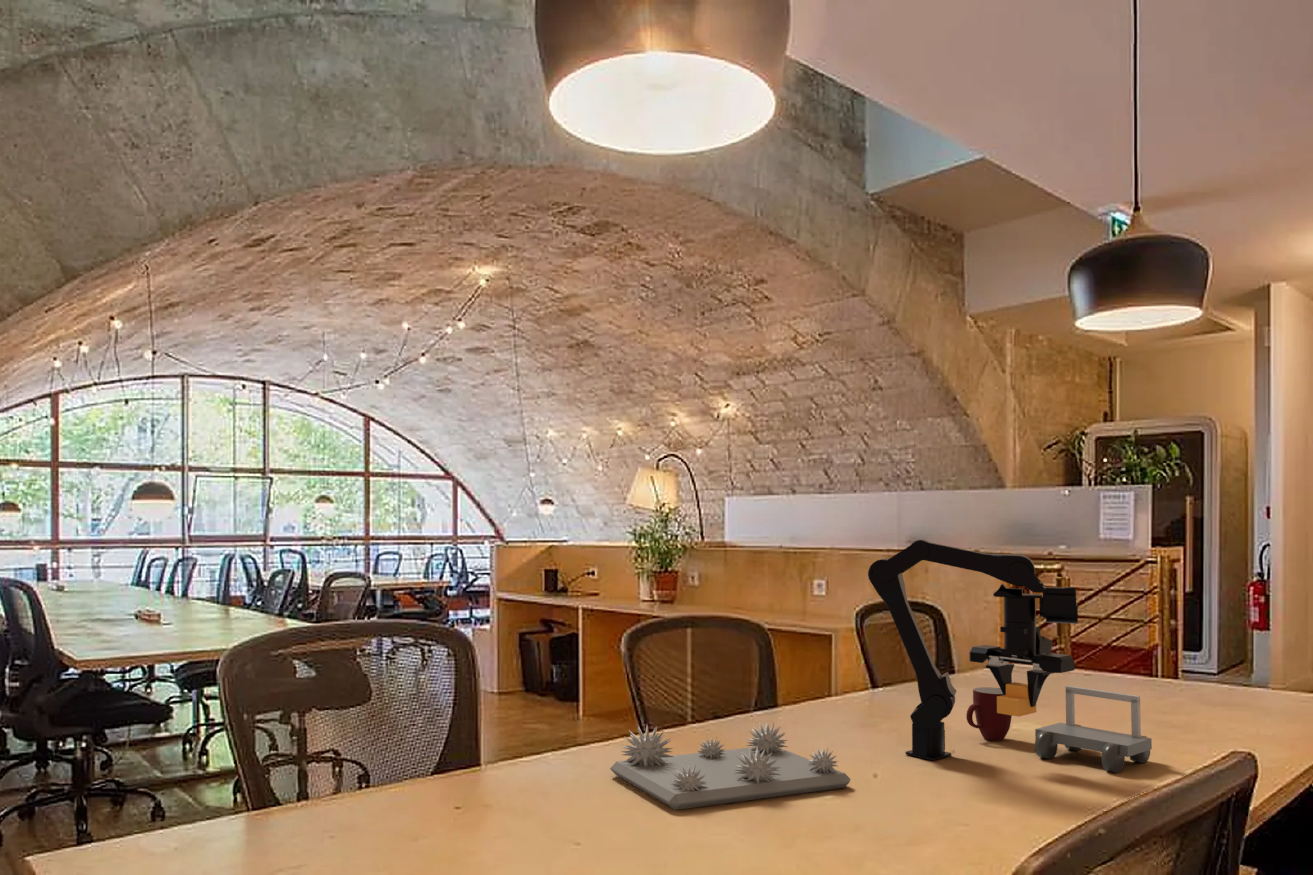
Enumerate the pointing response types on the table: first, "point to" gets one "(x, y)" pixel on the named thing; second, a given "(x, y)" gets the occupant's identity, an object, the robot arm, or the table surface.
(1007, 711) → the orange stair block
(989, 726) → the mug
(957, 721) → the table surface
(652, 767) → the decorative tray
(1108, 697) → the trolley
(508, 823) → the table surface
